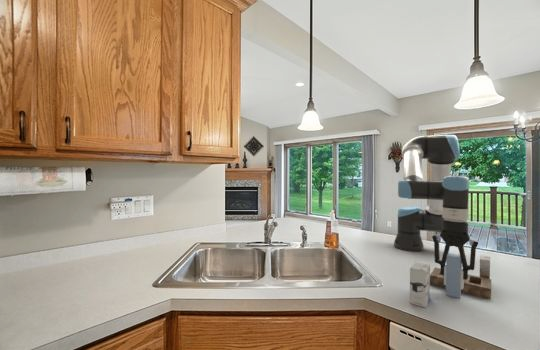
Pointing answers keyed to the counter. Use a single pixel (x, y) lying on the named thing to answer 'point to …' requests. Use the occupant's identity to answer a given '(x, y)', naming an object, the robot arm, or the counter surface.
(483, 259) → the grey upright block
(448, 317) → the counter surface
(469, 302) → the counter surface
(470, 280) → the bit holder block
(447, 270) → the square bit
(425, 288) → the ink box
